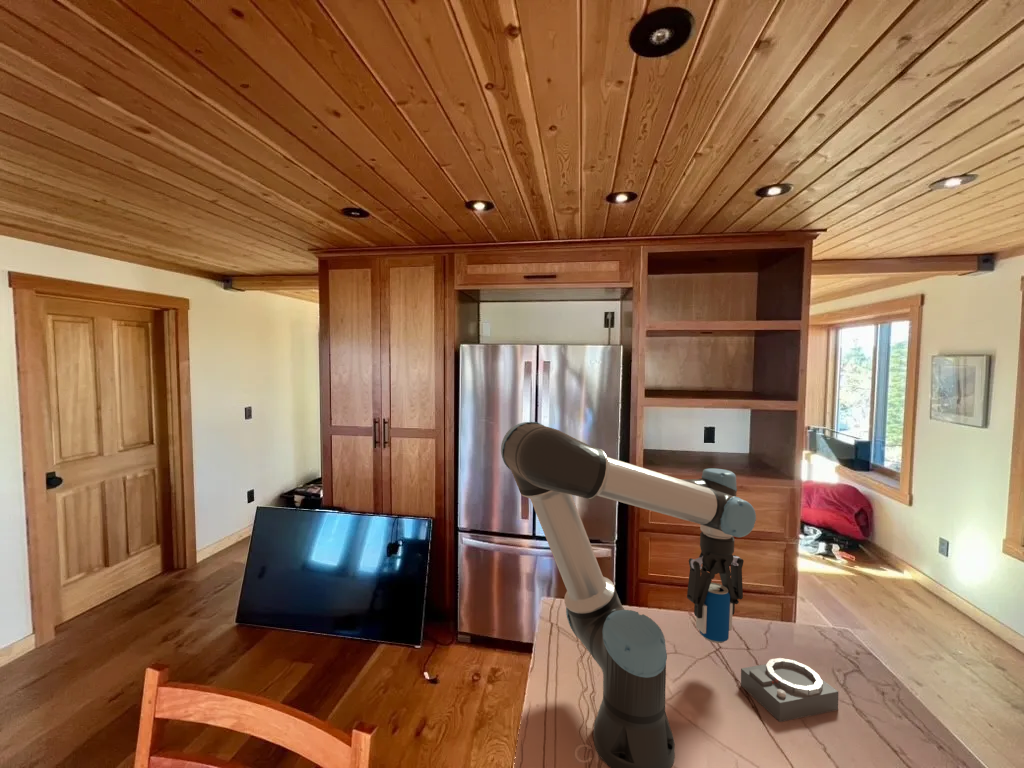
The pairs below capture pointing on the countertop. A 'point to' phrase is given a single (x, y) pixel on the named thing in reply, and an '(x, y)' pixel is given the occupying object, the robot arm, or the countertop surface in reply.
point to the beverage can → (717, 614)
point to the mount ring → (789, 686)
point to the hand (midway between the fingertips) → (713, 628)
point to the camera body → (787, 693)
